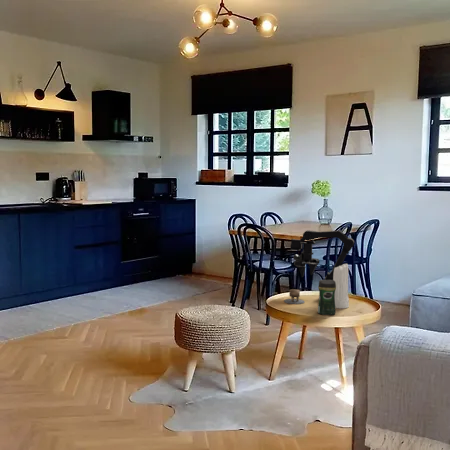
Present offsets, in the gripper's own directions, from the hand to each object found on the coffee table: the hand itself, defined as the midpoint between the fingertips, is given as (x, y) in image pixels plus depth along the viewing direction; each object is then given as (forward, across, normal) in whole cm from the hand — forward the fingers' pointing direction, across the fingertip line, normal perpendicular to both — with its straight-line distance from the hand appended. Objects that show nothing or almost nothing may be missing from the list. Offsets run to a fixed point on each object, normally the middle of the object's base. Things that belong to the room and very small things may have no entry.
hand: (306, 275), depth 344 cm
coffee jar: (+13, +26, +33) cm, 44 cm away
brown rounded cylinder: (+13, +17, +4) cm, 21 cm away
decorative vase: (+13, +6, +28) cm, 31 cm away
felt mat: (+13, +17, +4) cm, 22 cm away
